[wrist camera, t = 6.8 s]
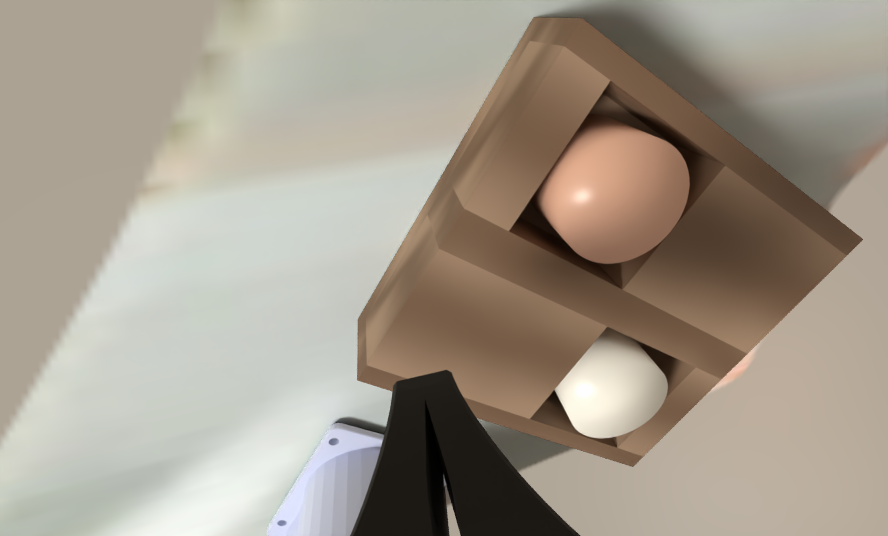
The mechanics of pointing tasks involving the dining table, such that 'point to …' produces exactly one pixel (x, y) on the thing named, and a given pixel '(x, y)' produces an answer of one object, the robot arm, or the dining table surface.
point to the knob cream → (612, 387)
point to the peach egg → (614, 191)
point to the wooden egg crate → (580, 280)
